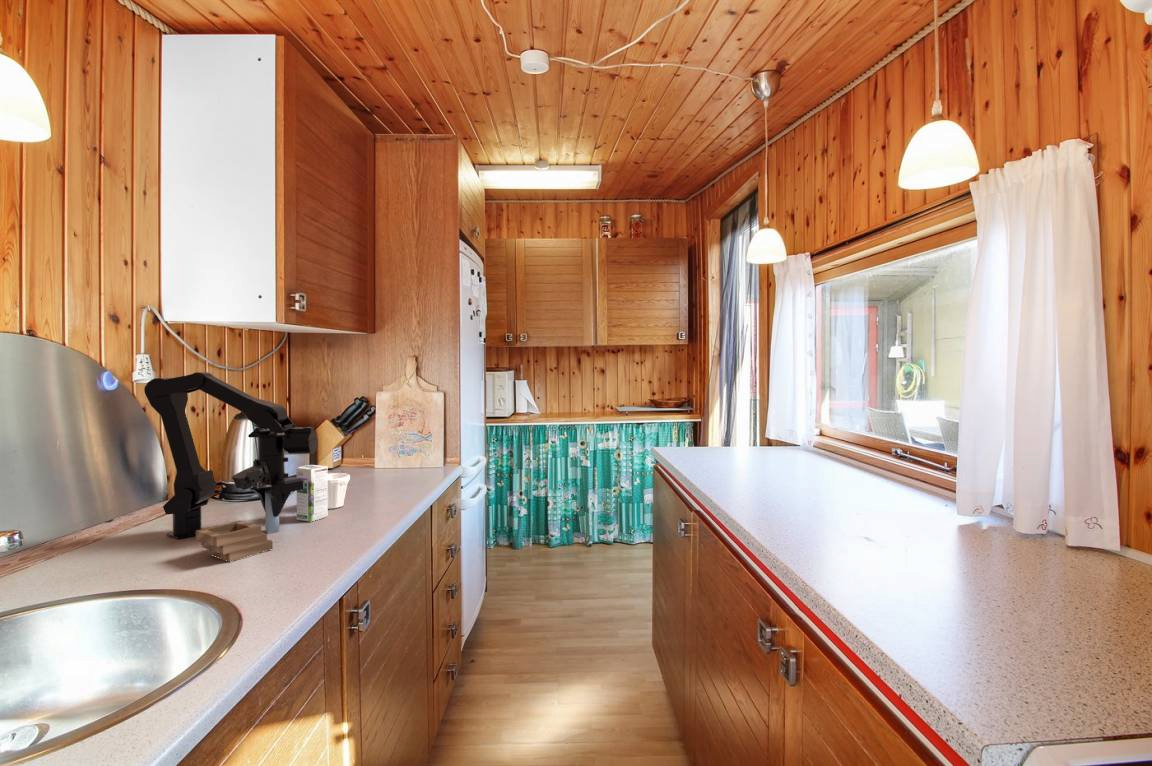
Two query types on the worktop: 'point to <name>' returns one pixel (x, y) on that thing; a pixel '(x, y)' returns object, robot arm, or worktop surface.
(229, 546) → the leaning socket
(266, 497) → the gray dowel
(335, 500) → the cup
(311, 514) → the syrup box
